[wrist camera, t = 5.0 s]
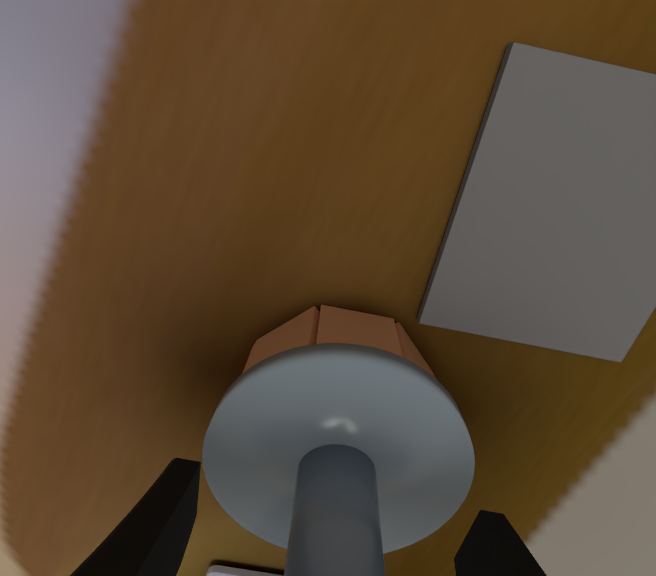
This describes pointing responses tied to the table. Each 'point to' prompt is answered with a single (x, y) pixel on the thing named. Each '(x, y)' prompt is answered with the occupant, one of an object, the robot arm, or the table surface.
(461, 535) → the table surface
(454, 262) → the mat
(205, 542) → the table surface
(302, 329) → the bowl
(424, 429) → the lid
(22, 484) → the table surface
